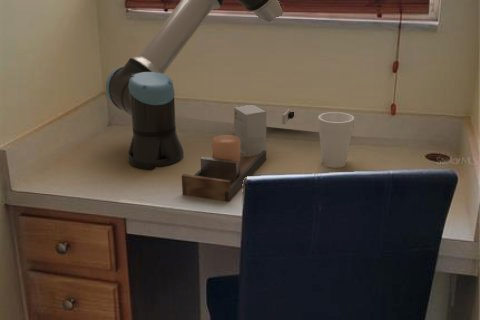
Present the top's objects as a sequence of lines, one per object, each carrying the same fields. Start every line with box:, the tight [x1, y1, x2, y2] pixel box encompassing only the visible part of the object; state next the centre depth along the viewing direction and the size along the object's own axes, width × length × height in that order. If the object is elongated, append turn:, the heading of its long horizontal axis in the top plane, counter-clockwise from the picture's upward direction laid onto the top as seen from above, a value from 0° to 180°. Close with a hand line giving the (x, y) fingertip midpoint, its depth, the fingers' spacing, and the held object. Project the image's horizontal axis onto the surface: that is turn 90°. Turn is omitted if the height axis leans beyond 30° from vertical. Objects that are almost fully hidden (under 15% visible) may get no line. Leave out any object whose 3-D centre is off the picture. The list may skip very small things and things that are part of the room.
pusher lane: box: [181, 150, 267, 203], centre depth 156 cm, size 12×28×6 cm, turn 160°
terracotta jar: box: [211, 134, 241, 176], centre depth 155 cm, size 7×7×10 cm
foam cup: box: [317, 111, 355, 169], centre depth 163 cm, size 10×9×13 cm
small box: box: [233, 105, 267, 157], centre depth 171 cm, size 8×6×13 cm
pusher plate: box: [200, 156, 239, 185], centre depth 151 cm, size 9×2×6 cm, turn 70°
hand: (261, 117), depth 179 cm, fingers open, 13 cm apart
